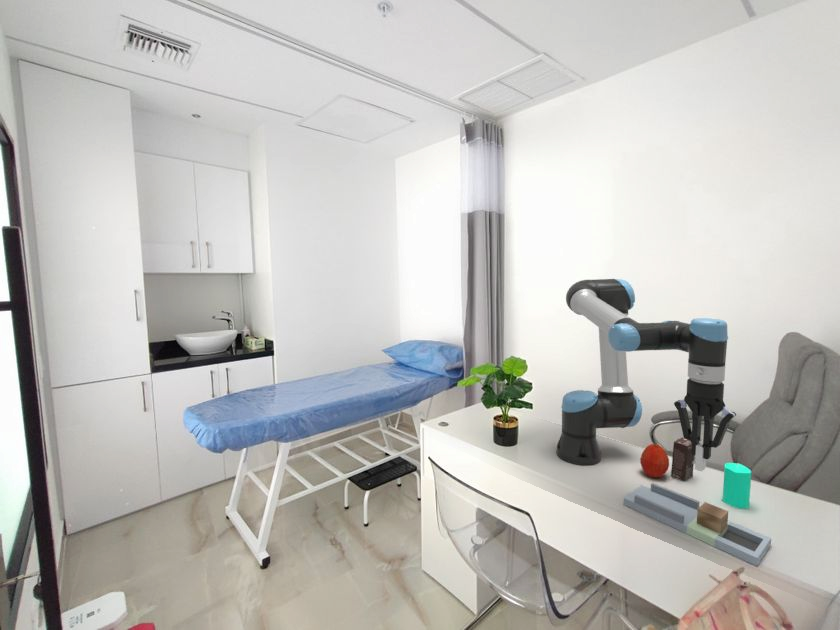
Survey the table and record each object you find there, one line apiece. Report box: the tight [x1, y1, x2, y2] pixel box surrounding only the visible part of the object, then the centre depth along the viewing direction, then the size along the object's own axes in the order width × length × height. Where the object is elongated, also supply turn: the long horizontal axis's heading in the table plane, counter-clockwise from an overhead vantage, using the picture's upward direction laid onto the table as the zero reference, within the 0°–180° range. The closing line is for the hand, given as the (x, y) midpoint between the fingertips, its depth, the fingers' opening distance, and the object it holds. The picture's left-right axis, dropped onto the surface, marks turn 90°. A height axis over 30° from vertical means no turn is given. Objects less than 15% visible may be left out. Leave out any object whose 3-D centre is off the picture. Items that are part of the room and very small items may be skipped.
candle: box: [722, 462, 752, 510], centre depth 111 cm, size 6×6×12 cm
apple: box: [639, 443, 670, 478], centre depth 127 cm, size 8×8×11 cm
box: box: [670, 437, 695, 482], centre depth 125 cm, size 6×4×12 cm
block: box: [697, 501, 729, 534], centre depth 99 cm, size 5×5×4 cm
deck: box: [622, 482, 772, 567], centre depth 103 cm, size 30×11×4 cm, turn 36°
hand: (700, 468), depth 100 cm, fingers closed
